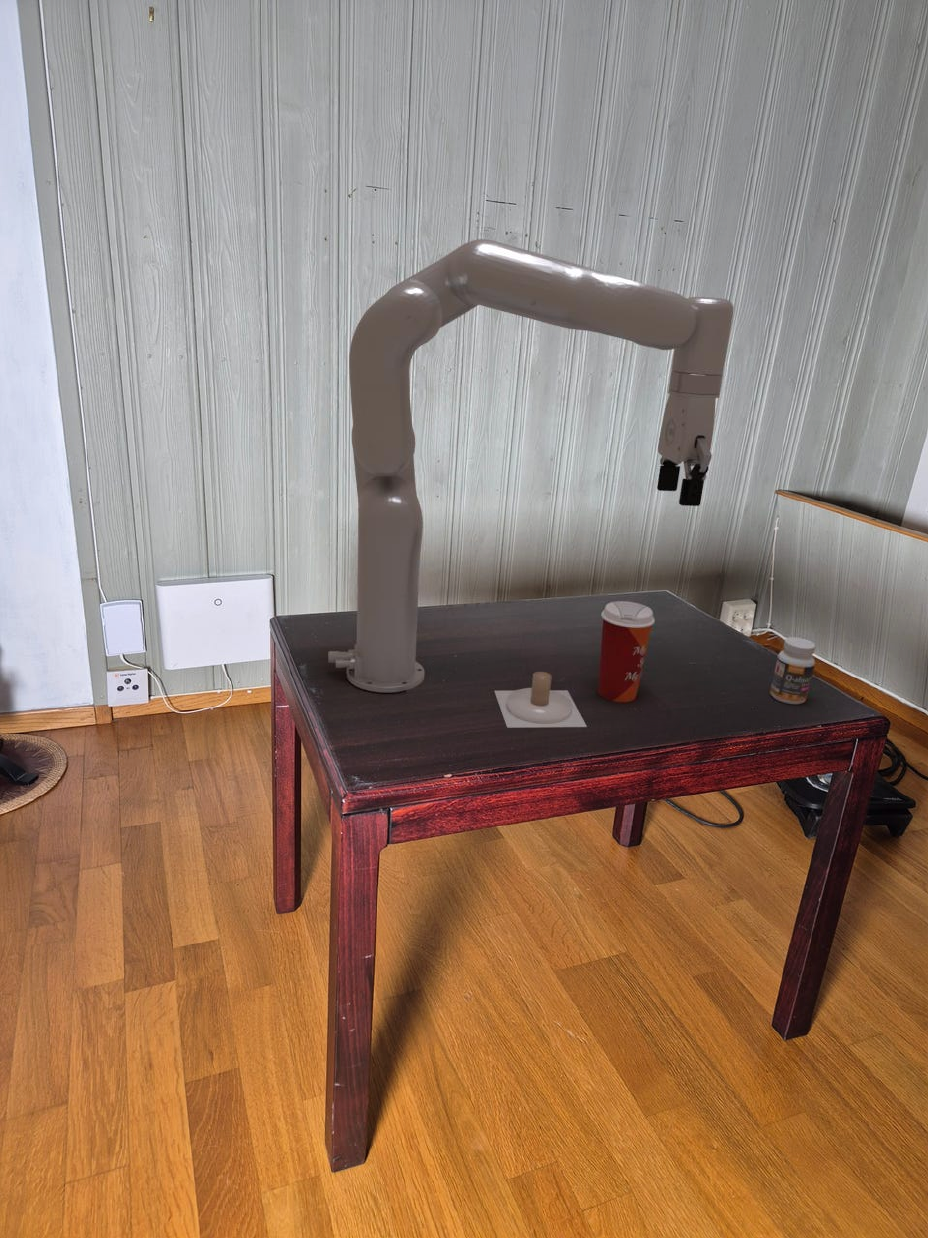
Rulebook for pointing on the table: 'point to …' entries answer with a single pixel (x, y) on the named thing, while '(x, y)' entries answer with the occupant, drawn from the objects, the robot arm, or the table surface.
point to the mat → (515, 722)
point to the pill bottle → (793, 671)
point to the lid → (539, 702)
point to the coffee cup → (623, 649)
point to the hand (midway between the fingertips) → (677, 497)
